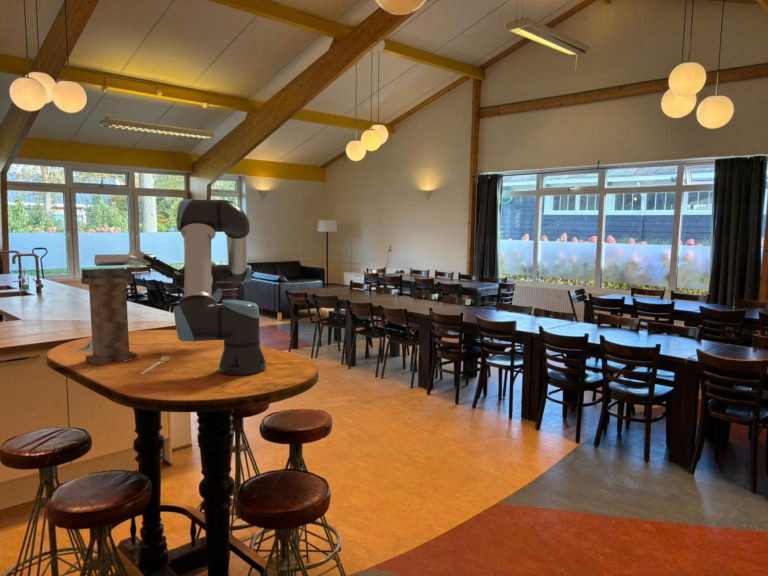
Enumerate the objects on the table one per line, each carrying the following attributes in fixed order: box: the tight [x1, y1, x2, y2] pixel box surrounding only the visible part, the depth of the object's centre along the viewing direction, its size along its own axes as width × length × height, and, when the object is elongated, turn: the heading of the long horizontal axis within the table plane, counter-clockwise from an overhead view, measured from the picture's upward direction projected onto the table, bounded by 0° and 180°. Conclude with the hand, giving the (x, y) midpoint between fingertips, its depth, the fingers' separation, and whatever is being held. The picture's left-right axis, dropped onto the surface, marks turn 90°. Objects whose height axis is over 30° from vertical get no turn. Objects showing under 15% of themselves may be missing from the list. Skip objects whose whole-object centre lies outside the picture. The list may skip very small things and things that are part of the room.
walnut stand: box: [80, 267, 138, 367], centre depth 190 cm, size 14×10×33 cm
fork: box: [140, 355, 170, 375], centre depth 182 cm, size 3×20×2 cm, turn 0°
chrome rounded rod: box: [93, 253, 156, 267], centre depth 193 cm, size 20×4×4 cm, turn 136°
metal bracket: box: [75, 339, 93, 351], centre depth 213 cm, size 14×6×15 cm
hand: (132, 252), depth 195 cm, fingers closed on chrome rounded rod, 4 cm apart
